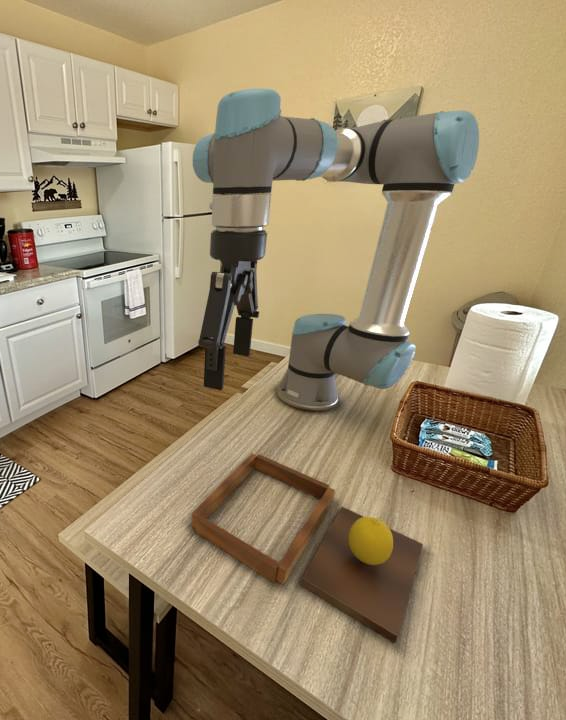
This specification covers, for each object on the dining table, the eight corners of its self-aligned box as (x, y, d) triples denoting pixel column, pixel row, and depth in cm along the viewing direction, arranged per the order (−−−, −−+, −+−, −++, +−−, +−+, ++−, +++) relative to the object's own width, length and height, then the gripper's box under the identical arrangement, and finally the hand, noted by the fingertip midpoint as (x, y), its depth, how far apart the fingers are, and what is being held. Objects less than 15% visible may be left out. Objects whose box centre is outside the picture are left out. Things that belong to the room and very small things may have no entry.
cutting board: (340, 512, 68) (341, 506, 67) (420, 550, 60) (423, 543, 60) (300, 584, 56) (301, 577, 55) (394, 643, 48) (397, 636, 48)
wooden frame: (251, 463, 81) (253, 451, 79) (333, 500, 70) (336, 488, 69) (189, 528, 65) (189, 515, 64) (281, 588, 55) (284, 573, 54)
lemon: (391, 580, 54) (406, 539, 51) (349, 573, 56) (361, 533, 52) (378, 547, 59) (390, 508, 56) (339, 542, 60) (349, 503, 57)
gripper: (239, 221, 64) (230, 340, 72) (173, 237, 44) (172, 398, 53) (286, 221, 60) (271, 347, 69) (237, 240, 40) (225, 412, 49)
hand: (228, 369), depth 61 cm, fingers open, 13 cm apart
